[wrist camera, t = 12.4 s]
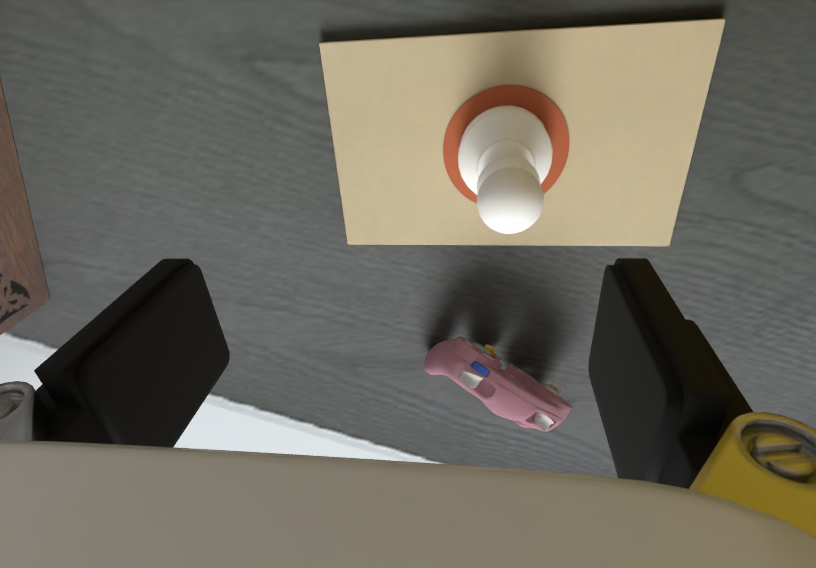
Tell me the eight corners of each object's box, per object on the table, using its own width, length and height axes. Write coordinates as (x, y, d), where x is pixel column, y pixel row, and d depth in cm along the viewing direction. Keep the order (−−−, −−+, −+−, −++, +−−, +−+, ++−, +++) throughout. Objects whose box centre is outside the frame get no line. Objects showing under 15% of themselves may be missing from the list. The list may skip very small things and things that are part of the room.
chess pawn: (525, 204, 28) (540, 282, 21) (446, 175, 28) (432, 244, 20) (566, 123, 25) (601, 177, 18) (479, 90, 25) (477, 132, 18)
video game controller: (551, 373, 37) (596, 410, 30) (519, 421, 38) (557, 468, 31) (448, 310, 35) (470, 335, 29) (415, 361, 36) (430, 397, 29)
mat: (321, 42, 26) (318, 43, 25) (722, 18, 23) (727, 18, 22) (349, 241, 32) (347, 245, 31) (666, 242, 29) (670, 247, 28)
